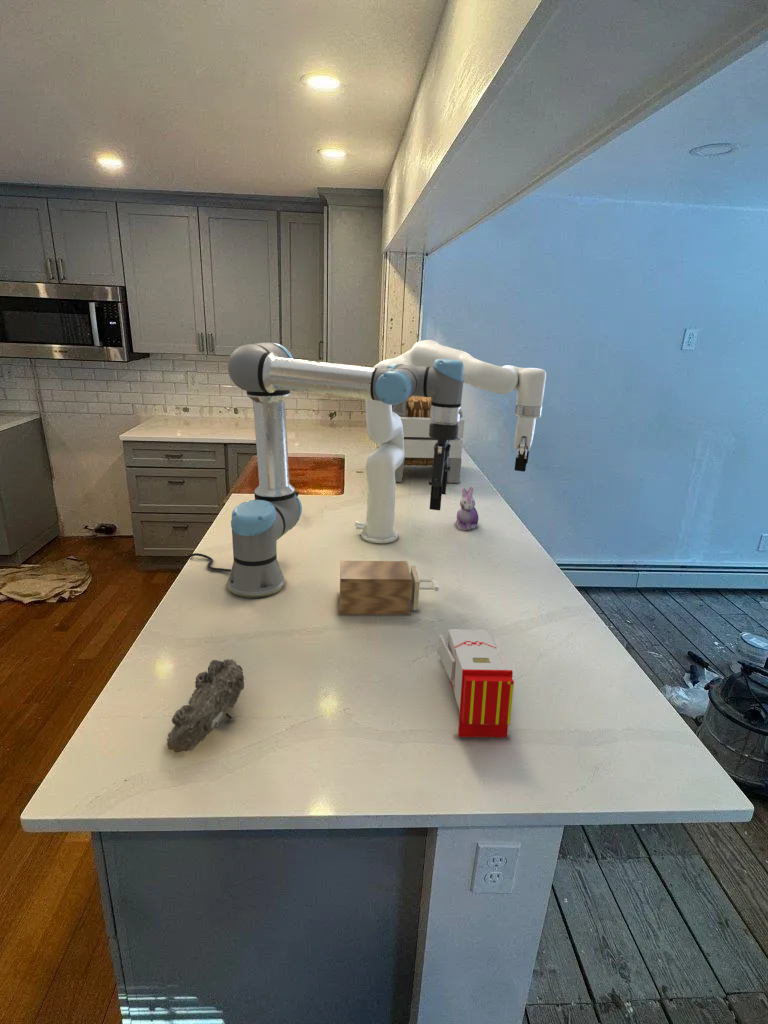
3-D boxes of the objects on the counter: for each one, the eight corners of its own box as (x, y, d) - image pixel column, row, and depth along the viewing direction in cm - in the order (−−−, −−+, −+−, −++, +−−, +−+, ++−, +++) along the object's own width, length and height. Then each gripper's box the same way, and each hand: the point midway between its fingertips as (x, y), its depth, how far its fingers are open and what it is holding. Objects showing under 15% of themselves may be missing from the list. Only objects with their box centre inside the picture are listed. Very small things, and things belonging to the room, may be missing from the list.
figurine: (464, 532, 203) (468, 492, 198) (448, 523, 212) (451, 484, 206) (485, 529, 207) (489, 490, 202) (469, 519, 216) (472, 482, 211)
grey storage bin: (382, 463, 289) (386, 382, 275) (445, 464, 293) (451, 384, 279) (390, 482, 257) (394, 392, 243) (460, 483, 261) (468, 394, 247)
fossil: (192, 660, 117) (244, 628, 112) (224, 691, 120) (276, 661, 115) (142, 746, 98) (202, 712, 93) (182, 779, 101) (242, 748, 96)
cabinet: (405, 594, 158) (407, 561, 154) (409, 614, 148) (411, 579, 144) (339, 594, 156) (340, 560, 153) (339, 614, 146) (340, 578, 143)
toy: (488, 613, 130) (523, 677, 101) (484, 667, 133) (517, 744, 104) (435, 612, 130) (455, 676, 101) (432, 666, 133) (451, 743, 103)
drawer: (433, 592, 157) (435, 565, 155) (438, 610, 148) (441, 581, 146) (352, 592, 156) (353, 564, 153) (353, 609, 147) (354, 581, 144)
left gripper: (455, 433, 132) (447, 518, 139) (462, 415, 155) (455, 489, 162) (423, 430, 133) (417, 515, 140) (435, 413, 156) (429, 486, 163)
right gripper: (517, 405, 177) (511, 459, 182) (512, 414, 161) (505, 472, 167) (542, 407, 175) (535, 461, 181) (539, 416, 159) (531, 475, 165)
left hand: (437, 501), depth 151 cm, fingers open, 13 cm apart
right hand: (521, 466), depth 174 cm, fingers open, 9 cm apart
